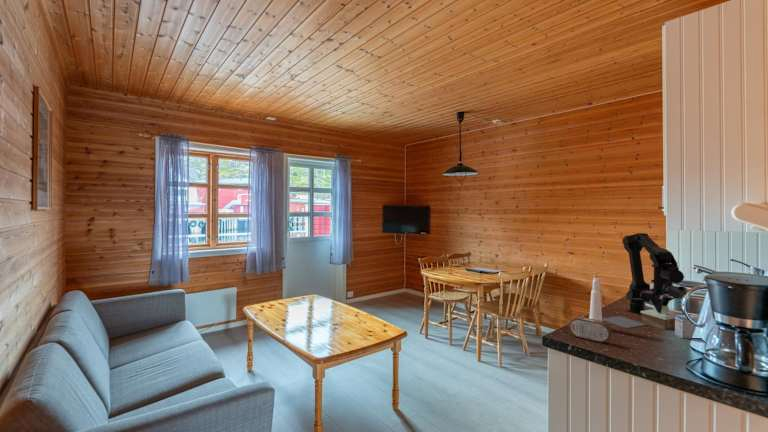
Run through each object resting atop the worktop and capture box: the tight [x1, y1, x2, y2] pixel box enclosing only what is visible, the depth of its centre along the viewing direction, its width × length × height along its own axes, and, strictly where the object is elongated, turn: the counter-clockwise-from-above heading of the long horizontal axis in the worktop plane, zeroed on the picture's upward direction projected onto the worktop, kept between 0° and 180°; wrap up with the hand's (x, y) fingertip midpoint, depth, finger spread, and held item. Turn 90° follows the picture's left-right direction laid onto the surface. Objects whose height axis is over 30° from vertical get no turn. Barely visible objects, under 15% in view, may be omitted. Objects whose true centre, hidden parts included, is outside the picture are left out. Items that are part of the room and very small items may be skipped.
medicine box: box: [674, 314, 700, 339], centre depth 143 cm, size 8×4×9 cm, turn 84°
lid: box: [640, 305, 679, 320], centre depth 158 cm, size 11×11×6 cm
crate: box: [641, 313, 675, 331], centre depth 158 cm, size 10×10×4 cm
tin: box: [568, 316, 613, 343], centre depth 141 cm, size 15×3×8 cm, turn 47°
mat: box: [602, 315, 648, 329], centre depth 161 cm, size 13×13×1 cm
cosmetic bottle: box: [588, 277, 603, 321], centre depth 155 cm, size 6×6×22 cm
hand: (660, 312), depth 158 cm, fingers closed on lid
